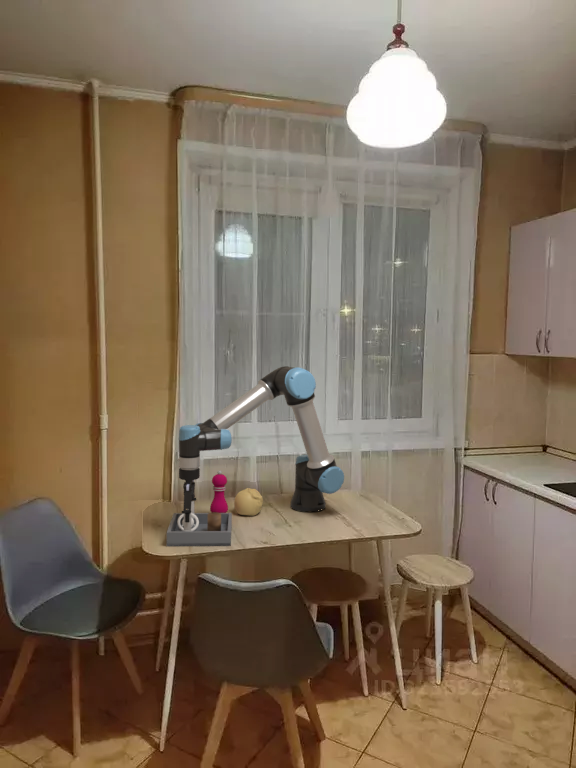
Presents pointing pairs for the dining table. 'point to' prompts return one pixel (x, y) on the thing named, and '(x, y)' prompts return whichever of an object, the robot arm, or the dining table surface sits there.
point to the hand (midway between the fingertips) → (189, 524)
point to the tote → (200, 532)
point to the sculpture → (248, 502)
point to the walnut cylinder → (214, 521)
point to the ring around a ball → (191, 522)
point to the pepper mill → (219, 493)
